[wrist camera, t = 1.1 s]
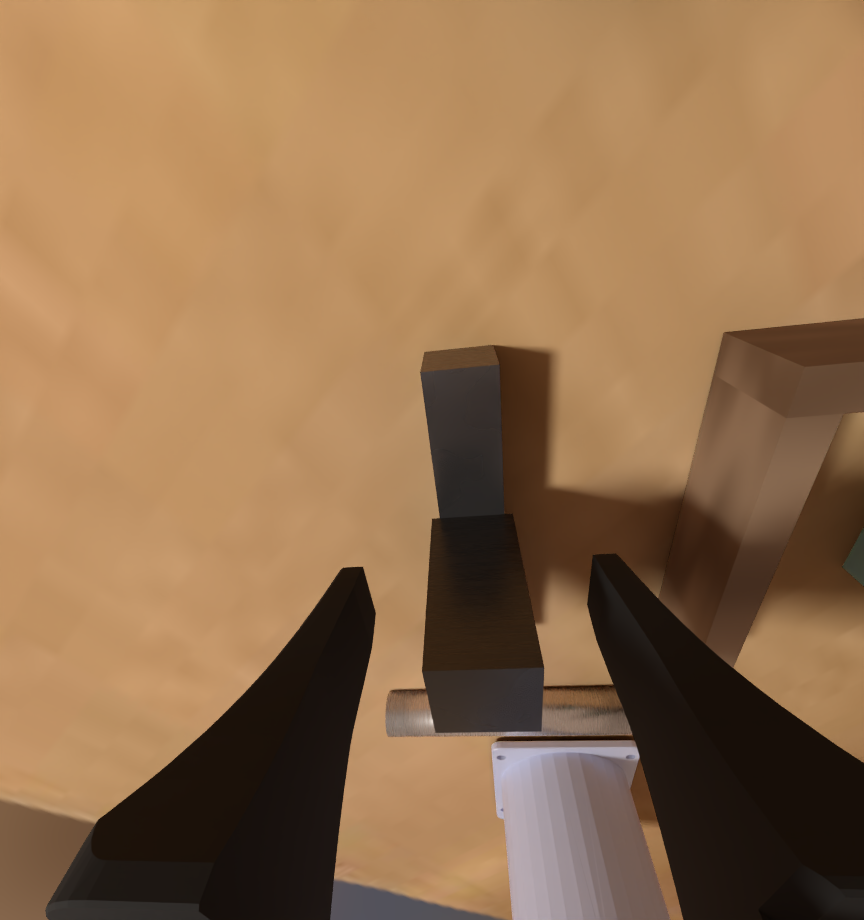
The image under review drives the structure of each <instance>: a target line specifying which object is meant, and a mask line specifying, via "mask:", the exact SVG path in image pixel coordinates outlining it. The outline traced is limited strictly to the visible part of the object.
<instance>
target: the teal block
mask: <svg viewBox="0 0 864 920" xmlns="http://www.w3.org/2000/svg"><path fill="white" fill-rule="evenodd" d="M842 567H843V568H844V569H845V570H846V571H847V572H848V573H849V574H850V575H852V576H853V577H854V578H855V579H856V580H857V581H858V582H859V583H860V584H862V585H863V586H864V528H863V529H862V531H861V533H860V535H859V537H858V539H857V540H856V542H855V544H854V546H853V548H852V550H851V551H850V553H849V555H848V557H847V559H846V561H845V562H844V564H843V566H842Z"/></svg>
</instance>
